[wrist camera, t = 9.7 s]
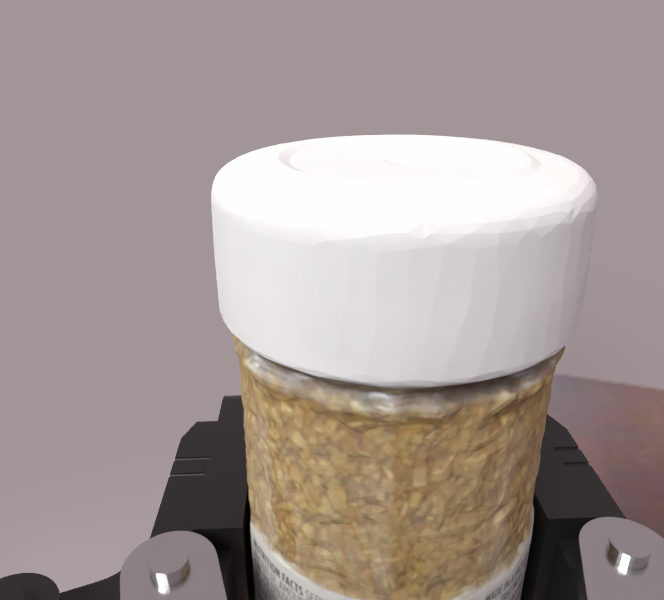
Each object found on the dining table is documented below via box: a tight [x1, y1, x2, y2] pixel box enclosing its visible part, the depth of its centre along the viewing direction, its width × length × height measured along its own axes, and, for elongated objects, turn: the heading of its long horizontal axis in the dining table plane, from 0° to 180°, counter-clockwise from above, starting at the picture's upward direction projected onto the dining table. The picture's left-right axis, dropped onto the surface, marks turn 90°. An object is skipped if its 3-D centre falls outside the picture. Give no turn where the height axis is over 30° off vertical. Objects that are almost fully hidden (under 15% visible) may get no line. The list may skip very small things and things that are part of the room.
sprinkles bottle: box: [211, 135, 598, 600], centre depth 10 cm, size 5×5×13 cm
